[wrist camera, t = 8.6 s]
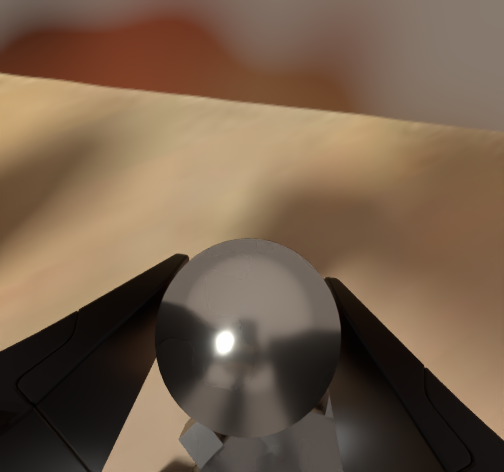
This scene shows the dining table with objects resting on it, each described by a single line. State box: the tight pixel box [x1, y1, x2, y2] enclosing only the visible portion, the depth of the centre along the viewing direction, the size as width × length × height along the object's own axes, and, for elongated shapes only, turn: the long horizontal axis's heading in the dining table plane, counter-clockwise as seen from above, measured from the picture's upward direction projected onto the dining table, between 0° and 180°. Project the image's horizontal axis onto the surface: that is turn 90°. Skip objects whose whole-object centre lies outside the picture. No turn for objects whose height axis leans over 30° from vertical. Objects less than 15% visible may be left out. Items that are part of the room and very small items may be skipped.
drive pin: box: [155, 238, 341, 438], centre depth 10 cm, size 4×4×10 cm
